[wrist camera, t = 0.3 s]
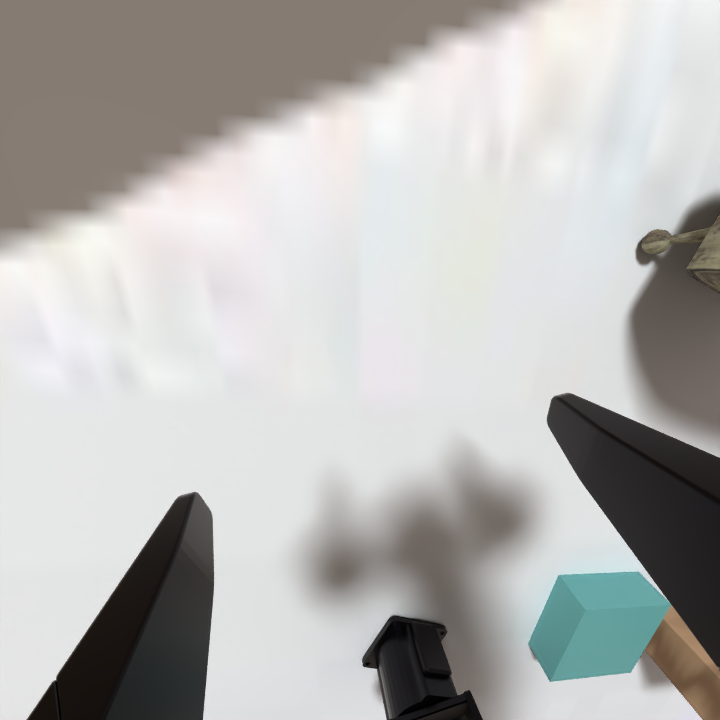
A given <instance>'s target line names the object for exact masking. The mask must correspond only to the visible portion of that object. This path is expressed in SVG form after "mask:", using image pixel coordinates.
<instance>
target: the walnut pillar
mask: <svg viewBox="0 0 720 720" xmlns="http://www.w3.org/2000/svg"><path fill="white" fill-rule="evenodd" d="M645 651H646V652H647V653H648V654H649V656H650V657H651V658H652V659H653V660H654V662H655V663H656V664H657V665H658V666H659V668H660V669H661V670H662V671H663V672H664V674H665V675H666V676H667V677H668V678H669V680H670V681H671V682H672V683H673V684H674V686H675V687H676V688H677V689H678V690H679V692H680V693H681V694H682V695H683V696H684V698H685V699H686V700H687V701H688V702H689V704H690V705H691V706H692V707H693V709H694V710H695V711H696V712H697V713H698V715H699V716H700V717H701V718H702V719H703V720H720V671H719V668H718V667H717V666H716V665H715V664H714V662H713V661H712V660H711V658H710V657H709V655H708V654H707V653H706V651H705V650H704V649H703V647H702V646H701V644H700V643H699V642H698V640H697V639H696V638H695V636H694V635H693V634H692V632H691V631H690V629H689V628H688V627H687V625H686V624H685V623H684V621H683V620H682V619H681V617H680V616H679V614H678V613H677V612H676V610H675V609H674V608H673V606H672V605H671V606H670V608H669V610H668V611H667V613H666V615H665V616H664V618H663V620H662V621H661V623H660V625H659V626H658V628H657V630H656V631H655V633H654V635H653V636H652V638H651V640H650V641H649V643H648V645H647V646H646V648H645Z"/></svg>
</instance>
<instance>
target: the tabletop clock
mask: <svg viewBox="0 0 720 720" xmlns="http://www.w3.org/2000/svg"><path fill="white" fill-rule="evenodd" d="M696 242H702V244H701V245H700V247H699V248H698V250H697V252H696V253H695V255H694V257H693V258H692V260H691V261H690V263H689V265H688V266H687V268H686V270H687V272H688V273H689V274H690V275H691V276H692V277H693V278H695V279H696V280H698V281H700V282H701V283H703V284H705V285H706V286H708V287H710V288H712V289H714V290H715V291H717V292H719V293H720V214H719V216H718V217H717V219H716V221H715V222H714V224H713V226H711V227H708V228H704V229H700V230H695V231H691V232H687V233H682V234H678V235H673V236H671V234H670V233H669V232H668V231H666V230H658V229H657V230H653V231H651V232H649V233H648V234H647V235H646V236H645V237H644V238H643V240H642V244H641V245H642V249H643V250H644V251H645V252H647V253H650V254H660V253H662V252H664V251H665V250H666V249H667V248H668V247H669V246H670V245H671V244H679V243H696Z"/></svg>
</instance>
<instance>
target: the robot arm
mask: <svg viewBox="0 0 720 720" xmlns="http://www.w3.org/2000/svg"><path fill="white" fill-rule="evenodd" d="M547 423H548V426H549V428H550V430H551V432H552V434H553V435H554V437H555V439H556V440H557V442H558V444H559V445H560V447H561V449H562V451H563V452H564V454H565V456H566V457H567V459H568V461H569V463H570V464H571V466H572V468H573V469H574V471H575V473H576V474H577V476H578V477H579V479H580V480H581V482H582V483H583V485H584V486H585V488H586V489H587V490H588V492H589V493H590V494H591V496H592V497H593V498H594V500H595V501H596V503H597V504H598V505H599V507H600V508H601V509H602V511H603V512H604V513H605V515H606V516H607V518H608V519H609V520H610V522H611V523H612V524H613V526H614V527H615V528H616V530H617V531H618V533H619V534H620V535H621V537H622V538H623V539H624V541H625V542H626V543H627V545H628V546H629V548H630V549H631V550H632V552H633V553H634V554H635V556H636V557H637V558H638V560H639V561H640V563H641V564H642V565H643V567H644V568H645V569H646V571H647V572H648V574H649V575H650V576H651V578H652V579H653V580H654V582H655V583H656V584H657V586H658V587H659V589H660V590H661V591H662V593H663V594H664V595H665V597H666V598H667V599H668V601H669V602H670V604H671V605H672V606H673V608H674V609H675V610H676V612H677V613H678V614H679V616H680V617H681V619H682V620H683V621H684V623H685V624H686V625H687V627H688V628H689V629H690V631H691V632H692V634H693V635H694V636H695V638H696V639H697V640H698V642H699V643H700V644H701V646H702V647H703V649H704V650H705V651H706V653H707V654H708V655H709V657H710V658H711V660H712V661H713V662H714V664H715V665H716V666H717V667H718V668H719V671H720V458H719V457H716V456H714V455H712V454H709V453H707V452H705V451H703V450H700V449H698V448H696V447H693V446H691V445H689V444H686V443H684V442H682V441H680V440H677V439H675V438H673V437H670V436H668V435H666V434H664V433H661V432H659V431H657V430H654V429H652V428H650V427H647V426H645V425H643V424H641V423H638V422H636V421H634V420H631V419H629V418H627V417H624V416H622V415H620V414H618V413H615V412H613V411H611V410H608V409H606V408H604V407H601V406H599V405H597V404H595V403H592V402H590V401H588V400H585V399H583V398H581V397H578V396H576V395H574V394H571V393H564V394H561V395H557V396H554V397H553V398H552V400H551V403H550V407H549V411H548V415H547ZM213 593H214V554H213V518H212V513H211V511H210V509H209V507H208V506H207V505H206V503H205V502H204V500H203V499H202V497H201V496H200V495H199V493H197V492H192V493H188V494H185V495H181V496H179V497H178V498H177V499H176V500H175V501H174V503H173V504H172V506H171V507H170V509H169V510H168V512H167V513H166V515H165V516H164V518H163V519H162V521H161V522H160V524H159V525H158V526H157V528H156V529H155V531H154V532H153V534H152V535H151V537H150V538H149V540H148V541H147V543H146V544H145V546H144V547H143V549H142V550H141V552H140V553H139V555H138V556H137V558H136V559H135V561H134V562H133V564H132V565H131V566H130V568H129V569H128V571H127V572H126V574H125V575H124V577H123V578H122V580H121V581H120V583H119V584H118V586H117V587H116V589H115V590H114V592H113V593H112V595H111V596H110V598H109V599H108V601H107V602H106V603H105V605H104V606H103V608H102V609H101V611H100V612H99V614H98V615H97V617H96V618H95V620H94V621H93V623H92V624H91V626H90V627H89V629H88V630H87V632H86V633H85V635H84V636H83V638H82V639H81V641H80V642H79V643H78V645H77V646H76V648H75V649H74V651H73V652H72V654H71V655H70V657H69V658H68V660H67V661H66V663H65V664H64V666H63V667H62V669H61V670H60V672H59V673H58V675H57V677H56V680H55V681H53V682H52V683H51V685H50V686H49V688H48V689H47V691H46V692H45V694H44V695H43V697H42V698H41V699H40V701H39V702H38V704H37V705H36V707H35V708H34V710H33V711H32V713H31V714H30V715H29V717H28V718H27V720H203V711H204V700H205V688H206V676H207V665H208V653H209V641H210V629H211V618H212V606H213ZM446 634H447V630H446V627H445V626H443V625H438V624H433V623H427V622H422V621H417V620H412V619H406V618H401V617H391V618H390V619H389V620H388V622H387V623H386V625H385V626H384V628H383V629H382V631H381V632H380V634H379V635H378V637H377V638H376V640H375V641H374V643H373V644H372V646H371V647H370V648H369V650H368V651H367V653H366V654H365V656H364V657H363V659H362V663H363V666H364V667H367V668H375V669H377V672H378V677H379V682H380V687H381V692H382V697H383V703H384V708H385V713H386V718H387V720H483V719H482V717H481V715H480V712H479V710H478V708H477V706H476V703H475V701H474V699H473V696H472V694H471V692H470V690H468V691H465V692H464V694H461V695H457V692H456V690H455V687H454V684H453V681H452V678H451V674H452V672H451V669H450V666H449V663H448V660H447V658H446V655H445V652H444V649H443V646H442V644H441V641H442V639H443V638H444V637H445V635H446Z"/></svg>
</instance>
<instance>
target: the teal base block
mask: <svg viewBox="0 0 720 720" xmlns="http://www.w3.org/2000/svg"><path fill="white" fill-rule="evenodd" d="M670 606H671V604H670V603H669V602H668V601H667V600H666V599H665V598H664V597H663V596H662V595H661V594H660V593H659V592H658V591H657V590H656V589H655V588H654V587H653V586H652V585H651V584H650V583H649V582H648V581H647V580H646V579H645V578H644V577H643V576H642V575H641V574H640V573H639V572H620V573H596V574H572V575H559V576H558V578H557V580H556V582H555V585H554V587H553V589H552V591H551V594H550V596H549V598H548V600H547V603H546V605H545V607H544V609H543V612H542V614H541V616H540V618H539V621H538V623H537V625H536V627H535V630H534V632H533V634H532V636H531V639H530V641H529V643H528V644H529V645H530V647H531V649H532V651H533V652H534V654H535V656H536V658H537V660H538V661H539V663H540V665H541V667H542V668H543V670H544V672H545V674H546V675H547V677H548V679H549V681H550V682H552V681H560V680H569V679H578V678H587V677H596V676H604V675H613V674H622V673H631V671H632V670H633V668H634V666H635V665H636V663H637V661H638V660H639V658H640V656H641V655H642V653H643V651H644V650H645V648H646V646H647V645H648V643H649V641H650V640H651V638H652V636H653V635H654V633H655V631H656V630H657V628H658V626H659V625H660V623H661V621H662V620H663V618H664V616H665V615H666V613H667V611H668V610H669V608H670Z"/></svg>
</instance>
